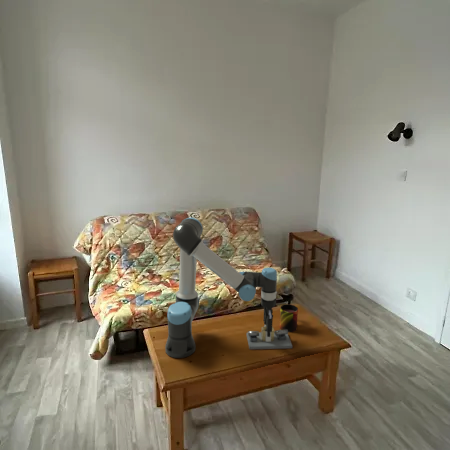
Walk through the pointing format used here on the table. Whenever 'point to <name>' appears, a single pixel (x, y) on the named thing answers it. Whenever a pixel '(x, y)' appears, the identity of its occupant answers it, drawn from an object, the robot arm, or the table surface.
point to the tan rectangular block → (263, 334)
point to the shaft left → (253, 335)
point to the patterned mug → (288, 317)
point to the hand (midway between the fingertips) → (267, 338)
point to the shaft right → (281, 334)
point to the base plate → (269, 343)
